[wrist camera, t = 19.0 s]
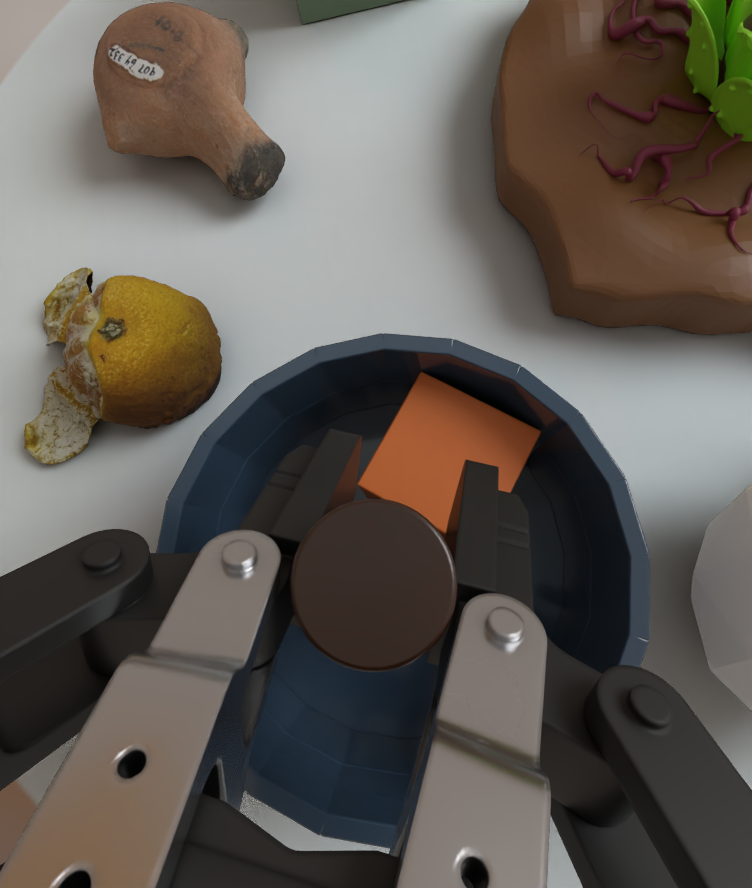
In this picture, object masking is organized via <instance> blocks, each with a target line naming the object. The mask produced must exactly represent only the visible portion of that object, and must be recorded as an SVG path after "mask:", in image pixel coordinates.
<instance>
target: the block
mask: <svg viewBox="0 0 752 888" xmlns="http://www.w3.org/2000/svg"><path fill="white" fill-rule="evenodd" d="M540 434H541V431H540V430H538V429H536V428H534V427H532V426H530V425H528V424H526V423H524V422H522V421H520V420H518V419H516V418H514V417H512V416H510V415H508V414H506V413H504V412H502V411H500V410H498V409H496V408H494V407H492V406H490V405H488V404H486V403H484V402H482V401H480V400H478V399H476V398H474V397H472V396H470V395H468V394H466V393H464V392H462V391H460V390H458V389H456V388H454V387H452V386H450V385H448V384H446V383H444V382H442V381H440V380H438V379H436V378H434V377H432V376H430V375H428V374H426V373H424V372H421V373H420V374H419V376H418V377H417V379H416V381H415V383H414V384H413V386H412V388H411V390H410V391H409V393H408V395H407V397H406V399H405V400H404V402H403V404H402V406H401V407H400V409H399V411H398V413H397V414H396V416H395V418H394V420H393V421H392V423H391V425H390V427H389V428H388V430H387V432H386V434H385V436H384V437H383V439H382V441H381V443H380V444H379V446H378V448H377V450H376V451H375V453H374V455H373V457H372V458H371V460H370V462H369V464H368V465H367V467H366V469H365V471H364V473H363V474H362V476H361V478H360V480H359V481H358V484H357V485H358V486H359V488H360V489H361V490H362V492H363V493H364V494H365V496H366V497H367V498H379V499H387V500H392V501H395V502H399V503H402V504H404V505H406V506H409V507H411V508H412V509H414V510H416V511H418V512H419V513H421V514H422V515H423V516H424V517H426V518H427V519H428V520H429V521H430V522H431V523H432V524H433V525H434V526H435V527H436V528H437V529H438V531H439V532H440V533H441V535H442V536H443V538H444V540H445V535H446V529H447V525H448V520H449V516H450V512H451V508H452V505H453V501H454V498H455V494H456V490H457V487H458V483H459V480H460V476H461V472H462V469H463V465H464V462H465V460H471V461H475V462H480V463H484V464H488V465H493V466H497V467H499V482H498V490H500V491H504V492H509V493H511V491H512V489H513V487H514V485H515V483H516V481H517V479H518V477H519V475H520V473H521V471H522V469H523V467H524V465H525V463H526V461H527V459H528V457H529V455H530V453H531V451H532V450H533V448H534V446H535V444H536V442H537V440H538V438H539V436H540Z"/></svg>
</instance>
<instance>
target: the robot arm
mask: <svg viewBox="0 0 752 888" xmlns="http://www.w3.org/2000/svg"><path fill="white" fill-rule="evenodd" d="M361 446H362V436H361V435H357V434H353V433H348V432H344V431H340V430H335V429H329V431H328V432H327V434H326V436H325V437H324V439H323V441H322V442H321V444H320V446H319V448H316V447H312V446H308V445H301V446H300V447H298V448H297V449H295V450H293V451H292V452H290V453H288V454H287V455H286V456H285V457H284V459H283V460H282V462H281V463H280V465H279V466H278V468H277V469H276V473H275V472H274V474H273V475H272V477H271V478H270V480H269V481H268V485H266V486H265V487H264V489H263V490H262V492H261V493H260V495H259V496H258V498H257V499H256V501H255V502H254V504H253V505H252V507H251V508H250V510H249V511H248V513H247V514H246V516H245V517H244V519H243V520H242V522H241V523H240V525H239V526H238V528H237V529H236V530H235V531H230V532H226V533H223V534H221V535H218V536H217V537H215V538H213V539H212V540H210V541H209V542H208V543H207V544H206V545H205V546H204V547H203V548H202V550H201V551H199V552H193V553H150V551H149V546H148V544H147V542H146V541H145V539H144V538H143V537H141V536H140V535H139V534H137V533H135V532H132V531H128V530H122V529H110V530H103V531H98V532H95V533H91V534H89V535H86V536H84V537H82V538H80V539H78V540H76V541H73V542H71V543H69V544H67V545H65V546H63V547H61V548H59V549H57V550H55V551H53V552H51V553H49V554H47V555H45V556H43V557H41V558H38V559H36V560H34V561H32V562H30V563H28V564H26V565H24V566H22V567H20V568H18V569H16V570H14V571H12V572H10V573H8V574H6V575H3V576H1V577H0V791H1V790H2V789H3V788H5V787H6V786H7V785H9V784H10V783H12V782H13V781H14V780H16V779H17V778H18V777H20V776H21V775H22V774H24V773H25V772H26V771H28V770H29V769H30V768H32V767H33V766H34V765H36V764H37V763H38V762H40V761H41V760H43V759H44V758H45V757H47V756H48V755H49V754H51V753H52V752H53V751H55V750H56V749H57V748H59V747H60V746H61V745H63V744H64V743H65V742H67V741H68V740H70V739H71V738H72V737H74V736H75V735H76V734H78V733H79V732H80V731H81V732H80V733H79V735H78V737H77V739H76V740H75V742H74V744H73V746H72V747H71V749H70V751H69V752H68V754H67V756H66V758H65V759H64V761H63V763H62V765H61V766H60V768H59V770H58V772H57V773H56V775H55V777H54V779H53V780H52V782H51V784H50V786H49V787H48V789H47V791H46V793H45V794H44V796H43V798H42V800H41V801H40V803H39V805H38V807H37V808H36V810H35V812H34V814H33V815H32V817H31V819H30V821H29V822H28V824H27V826H26V828H25V830H24V831H23V833H22V835H21V836H20V838H19V840H18V842H17V843H16V845H15V847H14V849H13V850H12V852H11V854H10V856H9V857H8V859H7V861H6V862H5V863H3V864H2V865H0V888H547V874H548V853H549V831H550V814H551V817H552V819H553V821H554V823H555V826H556V828H557V830H558V832H559V835H560V837H561V839H562V841H563V843H564V846H565V848H566V850H567V852H568V855H569V857H570V859H571V861H572V864H573V866H574V868H575V870H576V873H577V875H578V877H579V879H580V881H581V884H582V886H583V888H752V790H751V789H750V787H749V786H748V785H747V783H746V782H745V781H744V779H743V778H742V777H741V775H740V774H739V773H738V771H737V770H736V769H735V767H734V766H733V765H732V763H731V762H730V761H729V759H728V758H727V757H726V755H725V754H724V753H723V751H722V750H721V749H720V747H719V746H718V745H717V743H716V742H715V741H714V739H713V738H712V737H711V735H710V734H709V733H708V731H707V730H706V729H705V727H704V726H703V725H702V723H701V722H700V720H699V719H698V718H697V716H696V715H695V714H694V712H693V711H692V710H691V708H690V707H689V706H688V704H687V703H686V702H685V700H684V699H683V698H682V697H681V696H680V694H679V693H678V692H677V691H676V690H675V689H674V688H673V687H672V686H670V685H669V684H668V683H667V682H665V681H664V680H663V679H661V678H660V677H658V676H657V675H655V674H653V673H651V672H649V671H647V670H645V669H642V668H639V667H635V666H631V665H617V666H614V667H611V668H609V669H607V670H606V671H605V672H604V673H603V674H602V673H600V672H598V671H597V670H595V669H593V668H591V667H589V666H588V665H586V664H584V663H582V662H581V661H579V660H577V659H575V658H573V657H572V656H570V655H568V654H567V653H565V652H564V651H562V650H561V649H560V648H559V647H557V646H556V645H555V644H554V643H553V642H552V641H551V640H550V639H549V638H548V637H547V636H546V632H545V629H544V627H543V625H542V623H541V621H540V620H539V618H538V617H537V616H536V615H535V613H534V608H533V592H532V573H531V554H530V549H529V548H530V535H529V516H528V511H527V509H526V508H525V506H524V504H523V503H522V501H521V499H520V498H519V496H518V495H517V494H513V493H509V492H504V491H500V490H498V482H499V467H497V466H493V465H488V464H484V463H480V462H475V461H471V460H465V462H464V465H463V469H462V472H461V476H460V480H459V483H458V487H457V490H456V494H455V498H454V501H453V505H452V508H451V512H450V516H449V520H448V525H447V529H446V535H445V541H446V543H447V545H448V547H449V549H450V551H451V554H452V556H453V560H454V563H455V568H456V574H457V598H456V603H455V608H454V612H453V615H452V617H451V620H450V623H449V624H448V626H447V628H446V630H445V632H444V634H443V635H442V636H441V638H440V639H439V641H438V642H437V643H436V644H435V645H434V646H433V647H432V648H431V649H430V650H429V651H428V653H427V660H426V663H430V664H434V665H437V666H439V667H438V675H437V683H436V688H435V691H434V694H433V697H432V700H431V703H430V707H429V710H428V714H427V718H426V722H425V725H424V729H423V733H422V737H421V740H420V744H419V748H418V752H417V756H416V759H415V763H414V767H413V771H412V774H411V778H410V782H409V786H408V789H407V793H406V797H405V800H404V804H403V808H402V811H401V815H400V818H399V821H398V824H397V828H396V831H395V834H394V838H393V841H392V845H391V848H390V852H389V854H386V853H383V852H380V851H295V850H292V849H290V848H288V847H286V846H285V845H283V844H282V843H281V842H279V841H278V840H277V839H275V838H274V837H273V836H271V835H270V834H269V833H267V832H266V831H265V830H263V829H262V828H261V827H259V826H258V825H256V824H255V823H254V822H252V821H251V820H250V819H248V818H247V817H246V816H244V815H243V814H242V813H240V812H239V810H240V806H241V802H242V797H243V792H244V787H245V781H246V774H247V768H248V763H249V758H250V754H251V750H252V747H253V743H254V740H255V736H256V733H257V729H258V726H259V722H260V719H261V715H262V712H263V708H264V705H265V701H266V698H267V695H268V691H269V688H270V684H271V681H272V677H273V674H274V670H275V667H276V663H277V660H278V655H279V647H280V645H281V643H282V641H283V638H284V636H285V634H286V631H287V629H288V627H289V625H294V626H298V627H300V625H299V623H298V621H297V619H296V616H295V613H294V610H293V606H292V602H291V595H290V575H291V569H292V564H293V560H294V557H295V554H296V551H297V549H298V547H299V545H300V543H301V541H302V539H303V538H304V536H305V534H306V533H307V532H308V531H309V529H310V528H311V527H312V526H313V525H314V524H315V523H316V522H317V521H318V520H319V519H320V518H321V517H322V516H324V515H325V514H326V513H328V512H329V511H331V510H333V509H334V508H336V507H338V506H340V505H343V504H345V503H348V502H351V501H354V497H355V492H356V485H357V477H358V470H359V462H360V454H361Z"/></svg>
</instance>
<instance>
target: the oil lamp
mask: <svg viewBox="0 0 752 888" xmlns="http://www.w3.org/2000/svg"><path fill="white" fill-rule="evenodd" d="M247 53H248V38H247V36H246V34H245V33H244V31H243V30H242V29H241V28H240V27H239V26H238V25H237V24H235V23H234V22H233V21H231V20H227V19H217V18H215V17H214V16H212V15H210V14H208V13H207V12H205V11H202V10H199V9H196V8H193V7H189V6H186V5H181V4H177V3H173V2H163V3H150V4H146V5H142V6H139V7H135V8H133V9H131V10H129V11H127V12H125V13H123V14H122V15H120V16H119V17H118V18H117V19H115V20H114V21H113V22H112V23H111V24H110V25H109V26H108V27H107V29H106V31H105V32H104V34H103V36H102V38H101V39H100V41H99V43H98V46H97V50H96V54H95V59H94V69H93V76H94V85H95V90H96V94H97V99H98V103H99V107H100V111H101V116H102V123H103V128H104V132H105V136H106V140H107V144H108V146H109V148H110V149H112V150H114V151H115V152H117V153H135V154H146V155H151V156H156V157H165V158H168V157H183V156H193V157H196V158H198V159H200V160H201V161H203V162H204V163H205V164H207V165H208V166H209V167H210V168H212V169H213V170H214V171H215V172H216V174H217V175H218V176H219V178H220V179H221V180H222V181H223V183H224V184H225V186H226V187H227V189H228V191H229V192H230V193H231V194H232V195H233V196H236V195H238V196H239V197H241V198H242V199H247V200H254V199H257V198H259V197H261V196H263V195H265V193H266V192H267V191H268V190H269V189H270V188H272V187H273V186H274V184H275V182H276V181H277V179H278V176H279V174H280V172H281V171H282V168H283V166H284V162H285V155H284V152H283V151H282V149H281V148H280V147H279V146H278V145H277V144H276V143H275V142H273V141H272V140H271V139H270V138H269V137H268V136H267V135H266V134H265V133H264V132H263V131H262V130H261V129H260V128H259V126H258V125H257V124H256V123H255V122H254V120H253V119H252V118H251V117H250V115H249V114H248V113H247V111H246V110H245V109H244V107H243V104H244V100H245V85H246V82H245V59H246V57H247Z"/></svg>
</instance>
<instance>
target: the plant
mask: <svg viewBox="0 0 752 888" xmlns="http://www.w3.org/2000/svg"><path fill="white" fill-rule="evenodd" d="M492 128H493V138H494V152H495V177H496V187H497V193H498V197H499V200H500V201H501V203H502V204H503V206H505V207H506V208H507V209H508V210H509V211H510V212H511V213H512V214H513V215H514V216H515V217H516V218H517V219H518V220H519V221H520V222H521V223H522V224H523V225H524V227H525V228H526V229H527V231H528V232H529V234H530V235H531V237H532V239H533V241H534V243H535V245H536V248H537V251H538V254H539V257H540V259H541V262H542V266H543V269H544V273H545V276H546V279H547V281H548V286H549V292H550V297H551V303H552V308H553V312H554V314H555V315H562V316H568V317H573V318H576V319H580V320H583V321H585V322H588V323H591V324H594V325H596V326H601V327H611V328H614V327H624V326H634V325H659V326H665V327H670V328H674V329H678V330H682V331H686V332H690V333H694V334H710V335H714V334H728V333H746V332H752V0H529V2H528V4H527V6H526V8H525V9H524V11H523V12H522V14H521V15H520V17H519V18H518V19H517V21H516V22H515V24H514V25H513V27H512V29H511V31H510V33H509V35H508V37H507V40H506V43H505V47H504V50H503V54H502V58H501V63H500V67H499V71H498V77H497V82H496V88H495V93H494V99H493V105H492Z"/></svg>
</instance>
